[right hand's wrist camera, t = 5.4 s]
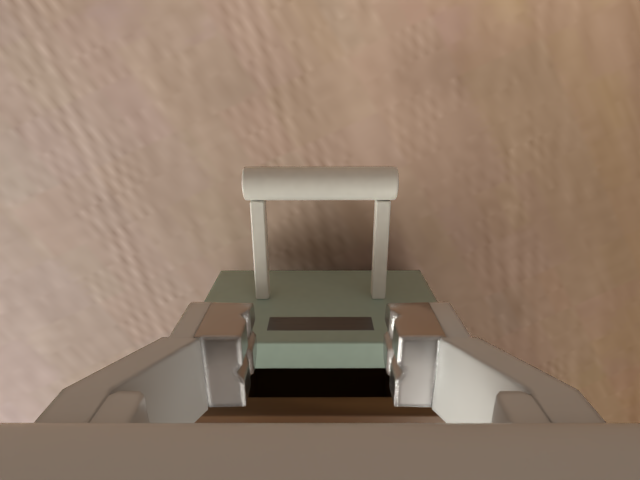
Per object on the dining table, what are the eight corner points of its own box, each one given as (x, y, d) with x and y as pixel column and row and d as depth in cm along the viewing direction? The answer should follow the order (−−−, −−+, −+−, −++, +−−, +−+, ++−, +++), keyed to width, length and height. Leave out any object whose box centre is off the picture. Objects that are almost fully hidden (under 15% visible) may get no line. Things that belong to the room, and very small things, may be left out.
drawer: (209, 156, 19) (158, 186, 13) (430, 155, 19) (482, 186, 13) (244, 520, 28) (223, 642, 21) (397, 520, 28) (419, 642, 21)
